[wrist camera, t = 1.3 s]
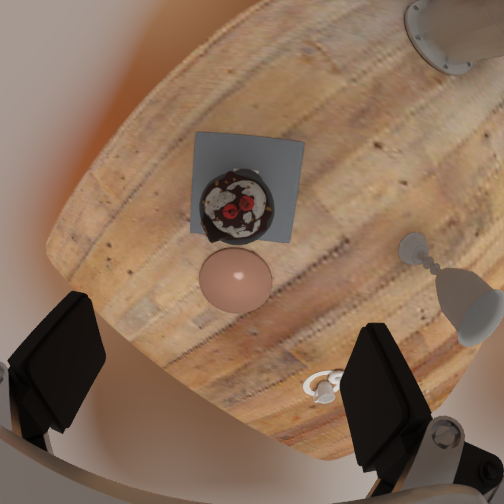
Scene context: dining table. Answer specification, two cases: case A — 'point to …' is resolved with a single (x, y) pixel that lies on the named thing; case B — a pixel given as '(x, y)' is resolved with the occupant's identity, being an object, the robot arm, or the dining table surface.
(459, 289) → the chalice
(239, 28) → the dining table surface
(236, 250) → the coaster
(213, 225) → the sundae
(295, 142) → the card
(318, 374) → the teacup and saucer
